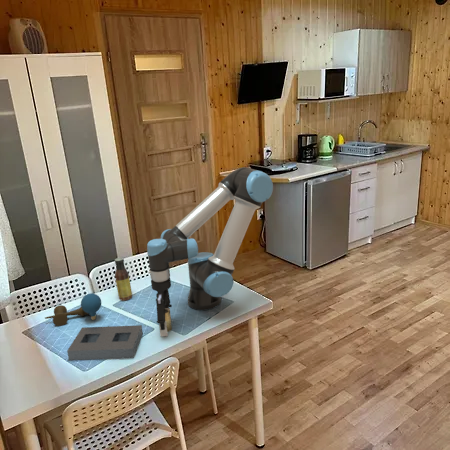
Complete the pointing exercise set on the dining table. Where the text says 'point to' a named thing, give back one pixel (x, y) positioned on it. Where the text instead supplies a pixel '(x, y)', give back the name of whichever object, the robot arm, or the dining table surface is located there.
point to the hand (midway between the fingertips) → (166, 328)
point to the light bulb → (91, 304)
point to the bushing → (168, 320)
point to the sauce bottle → (122, 280)
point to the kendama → (64, 315)
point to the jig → (105, 343)
